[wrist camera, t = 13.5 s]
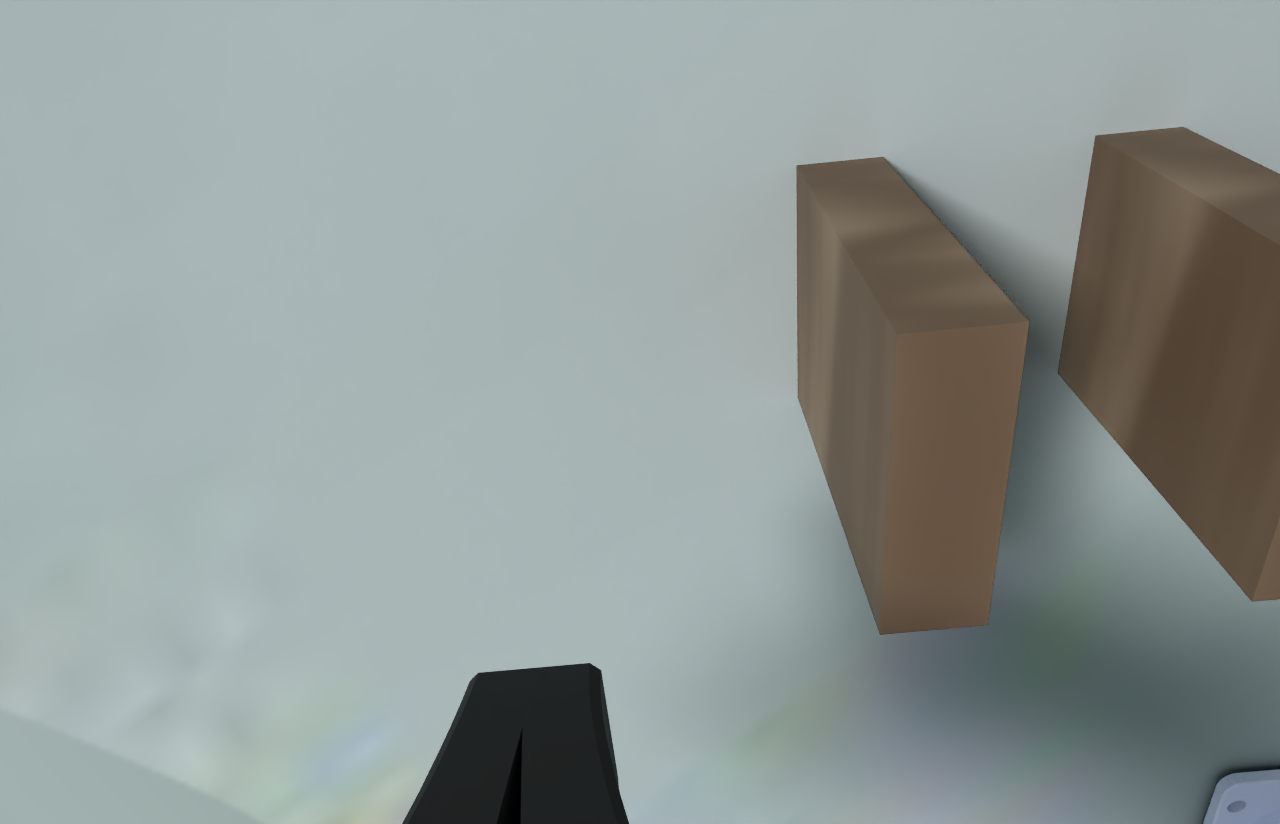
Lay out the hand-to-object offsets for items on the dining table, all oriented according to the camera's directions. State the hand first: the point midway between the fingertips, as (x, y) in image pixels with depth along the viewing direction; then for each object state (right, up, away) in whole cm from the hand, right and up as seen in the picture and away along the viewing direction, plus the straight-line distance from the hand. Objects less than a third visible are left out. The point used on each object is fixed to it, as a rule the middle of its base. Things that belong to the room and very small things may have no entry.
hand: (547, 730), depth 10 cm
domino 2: (+10, +7, +8) cm, 15 cm away
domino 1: (+5, +6, +8) cm, 11 cm away
